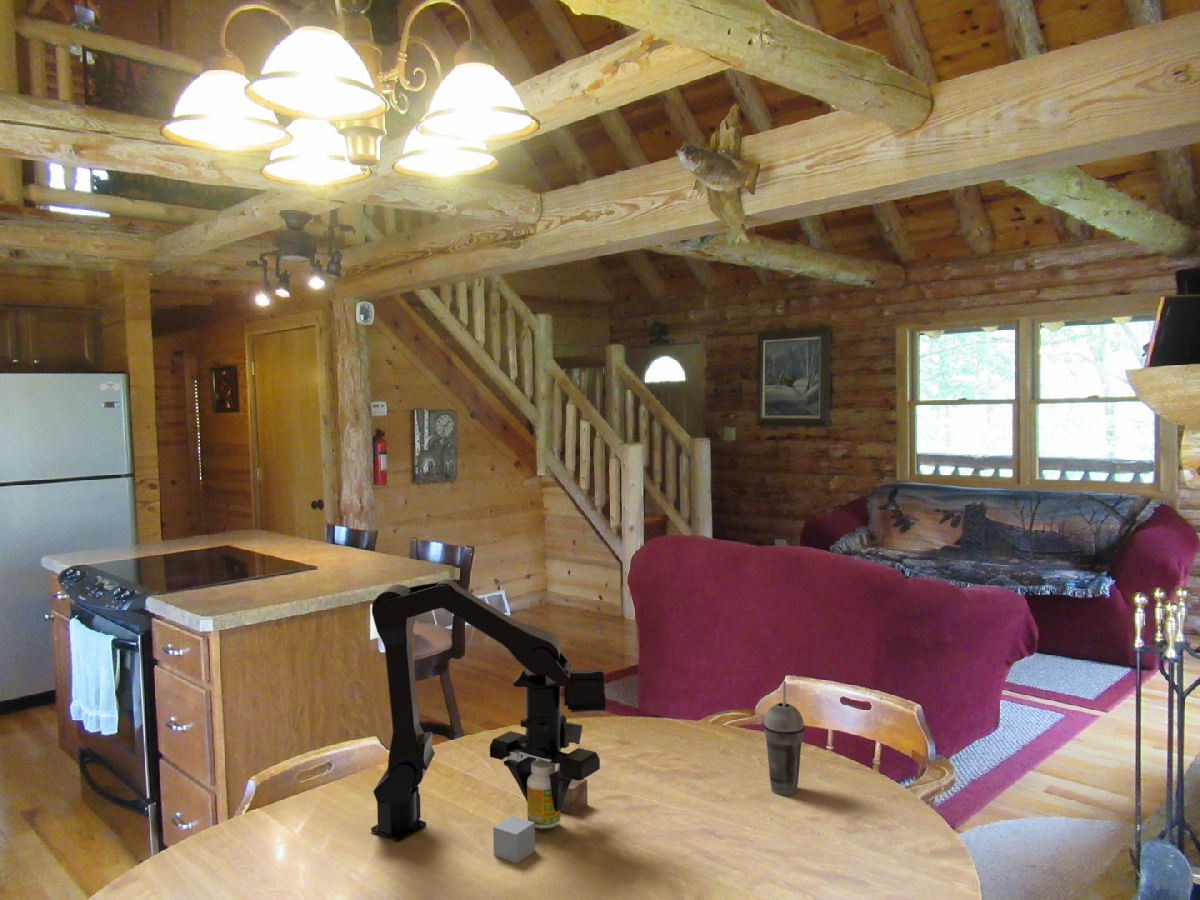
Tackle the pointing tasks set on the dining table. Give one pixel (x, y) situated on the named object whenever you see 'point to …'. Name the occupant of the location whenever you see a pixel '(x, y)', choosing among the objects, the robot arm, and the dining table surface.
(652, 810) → the dining table surface
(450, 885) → the dining table surface
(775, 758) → the beverage cup
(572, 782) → the pinkish brown block
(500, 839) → the slate block
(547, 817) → the supplement bottle
